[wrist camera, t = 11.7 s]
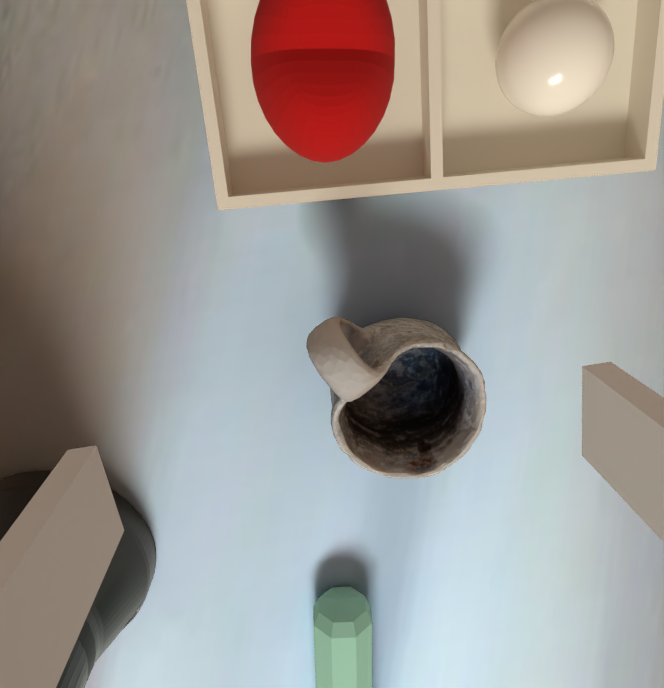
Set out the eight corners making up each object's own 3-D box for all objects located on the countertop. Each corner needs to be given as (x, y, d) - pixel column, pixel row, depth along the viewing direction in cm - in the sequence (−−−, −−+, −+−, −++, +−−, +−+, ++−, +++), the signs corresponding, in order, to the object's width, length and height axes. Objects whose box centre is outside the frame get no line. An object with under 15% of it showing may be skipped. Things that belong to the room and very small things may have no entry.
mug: (404, 449, 43) (431, 537, 33) (264, 364, 40) (250, 433, 31) (485, 350, 40) (539, 415, 31) (342, 252, 38) (354, 290, 28)
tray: (225, 204, 36) (218, 210, 33) (190, -33, 32) (179, -49, 29) (628, 167, 36) (655, 170, 33) (650, -73, 32) (684, -94, 29)
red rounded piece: (254, -8, 32) (237, -88, 22) (377, -7, 32) (414, -84, 23) (261, 165, 34) (249, 162, 25) (375, 165, 35) (407, 160, 25)
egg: (481, 122, 34) (515, 119, 29) (482, 10, 32) (518, -16, 27) (579, 113, 34) (631, 109, 29) (586, 1, 32) (644, -28, 27)
